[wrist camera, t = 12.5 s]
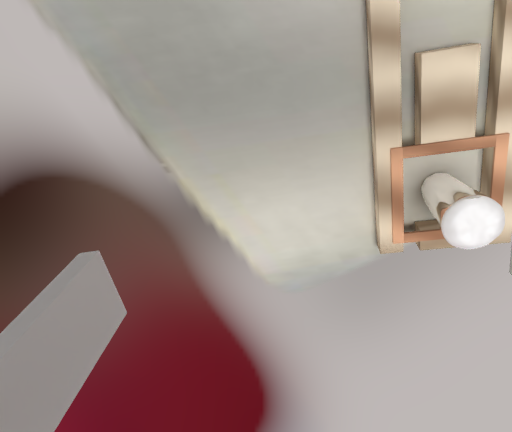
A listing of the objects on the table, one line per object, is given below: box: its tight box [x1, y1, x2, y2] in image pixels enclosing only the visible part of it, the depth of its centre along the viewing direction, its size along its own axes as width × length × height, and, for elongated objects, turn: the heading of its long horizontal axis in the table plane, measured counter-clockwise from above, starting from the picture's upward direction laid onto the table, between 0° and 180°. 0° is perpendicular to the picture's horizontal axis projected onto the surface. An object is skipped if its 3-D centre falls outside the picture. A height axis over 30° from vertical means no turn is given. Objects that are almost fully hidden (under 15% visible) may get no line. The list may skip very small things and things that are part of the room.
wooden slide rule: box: [366, 0, 512, 254], centre depth 32 cm, size 28×12×2 cm, turn 10°
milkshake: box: [421, 173, 505, 250], centre depth 32 cm, size 4×5×10 cm
